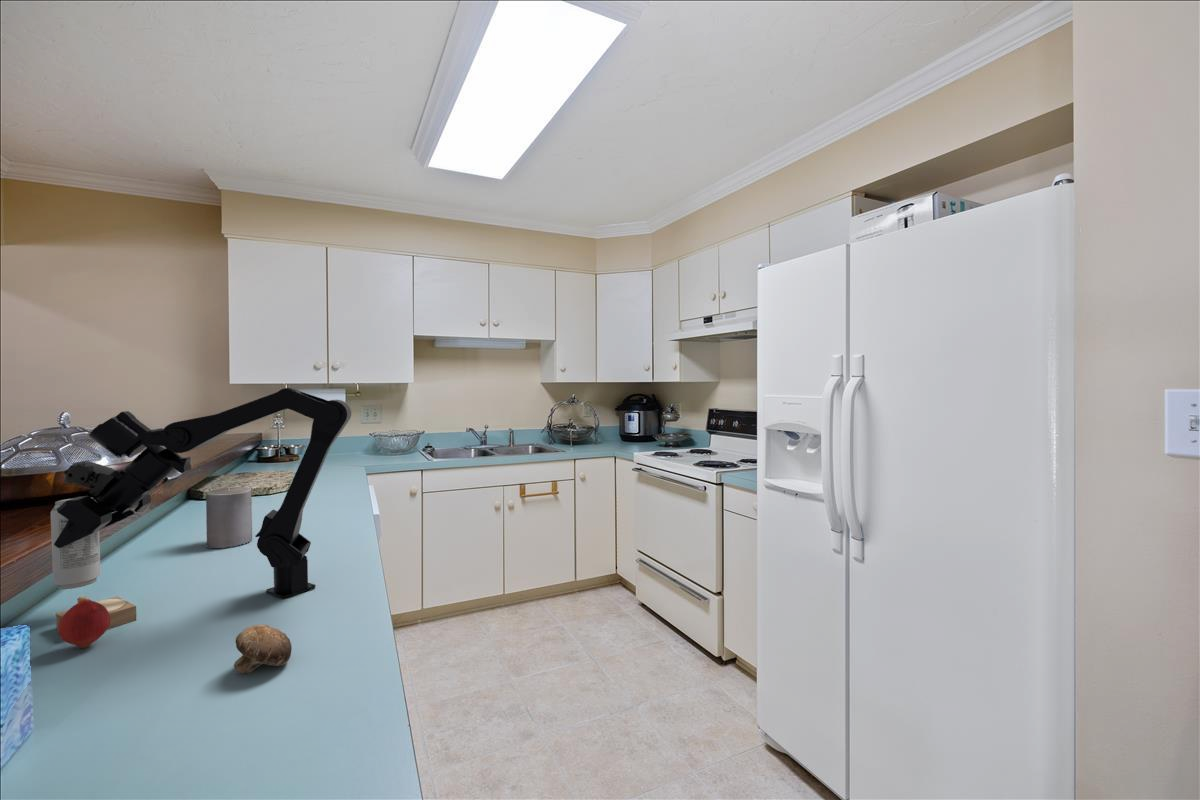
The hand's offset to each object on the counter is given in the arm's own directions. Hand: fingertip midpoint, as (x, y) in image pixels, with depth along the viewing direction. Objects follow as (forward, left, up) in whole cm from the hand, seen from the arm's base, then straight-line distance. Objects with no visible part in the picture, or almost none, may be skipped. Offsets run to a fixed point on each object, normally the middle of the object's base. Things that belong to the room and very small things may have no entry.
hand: (68, 541), depth 93 cm
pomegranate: (-18, +3, -13) cm, 22 cm away
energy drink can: (-1, -1, -8) cm, 8 cm away
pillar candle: (+22, -36, -13) cm, 44 cm away
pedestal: (-9, -1, -13) cm, 16 cm away
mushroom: (-48, -8, -14) cm, 50 cm away
